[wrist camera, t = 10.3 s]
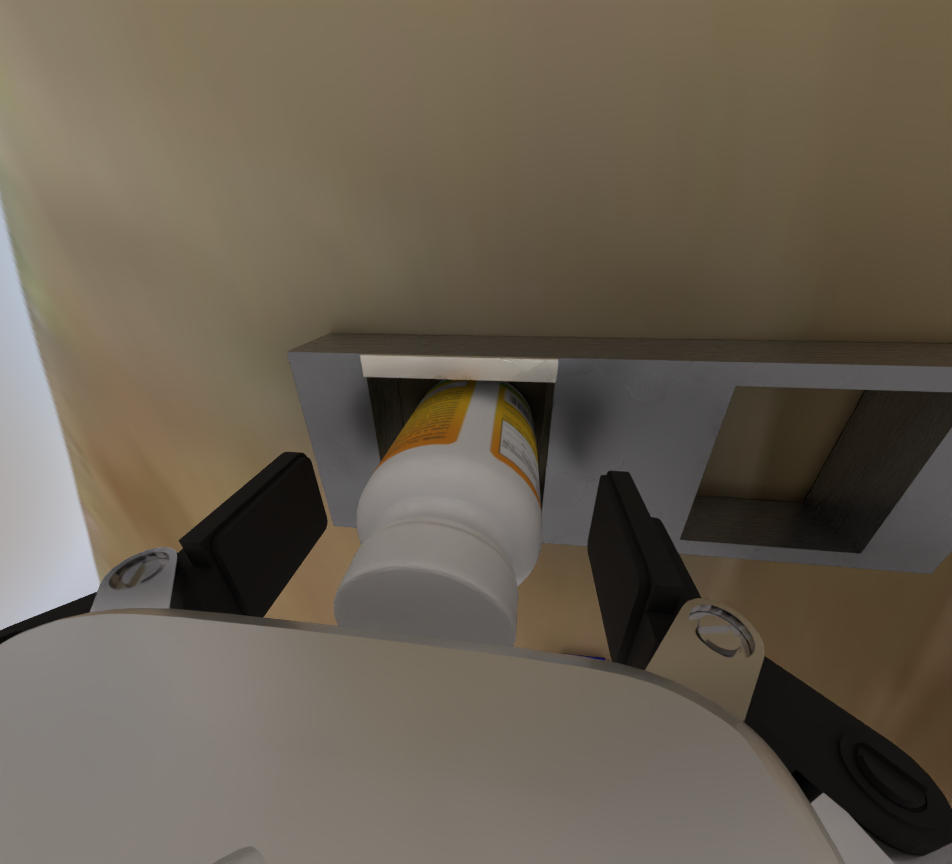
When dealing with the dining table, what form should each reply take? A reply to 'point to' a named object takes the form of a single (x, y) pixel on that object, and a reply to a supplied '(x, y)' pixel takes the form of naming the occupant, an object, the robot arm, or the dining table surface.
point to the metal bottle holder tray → (669, 435)
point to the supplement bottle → (449, 520)
